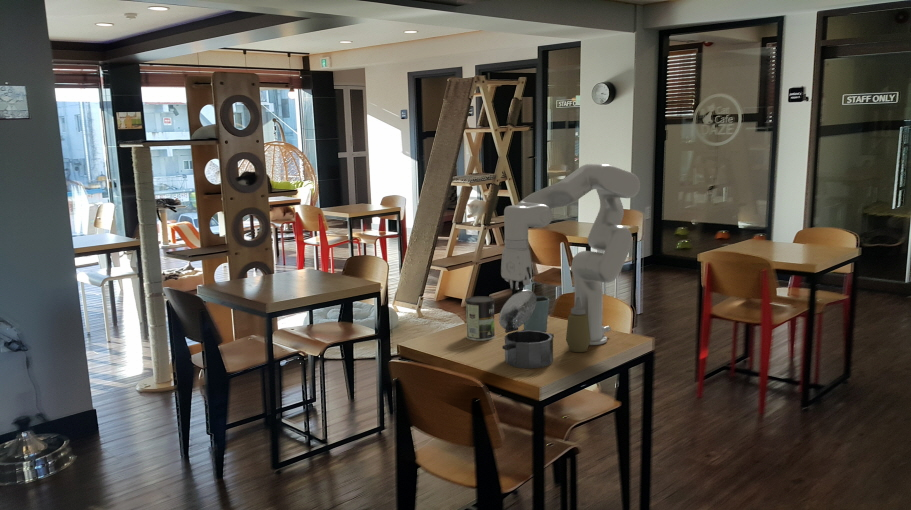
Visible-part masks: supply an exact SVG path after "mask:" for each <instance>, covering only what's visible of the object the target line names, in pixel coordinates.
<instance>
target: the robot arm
mask: <svg viewBox="0 0 911 510" xmlns="http://www.w3.org/2000/svg"><path fill="white" fill-rule="evenodd" d="M640 189H641V182H640V179H639V177H638V176H637V175H636V174H635V173H633V172H631V171H627V170H626V169H622V168H620V167H616V166H614V165H611V164H608V163H607V164H606V163H605V164H604V163H586V164H584V165H581V166H580V167H578V168H576V169H575V170H574V171H573V172H571V173H570V174H569V175H567V176H565V177H564V178H562V179H561V180H559V182H556V183H553V184H551V185H548V186H546V187H544V188H541V189H539V190H537V191H534V192H532V193H530V194H529V195H527V196H526V197H524V198H523V199H522V200H520V201H519V202H518V203H517V204H515V205H508V206H505V208H504V210H503V219H504V221H503V222H504V225H503V226H504V240H503V242H504V248H502V254H501V265H500V275H501V278H502V279H504V281H506V282H508V284H509V285H510V289H511V296H513V295H514V294H515V293H517V292H519V291H521V290H525V287H526V286H528V285H530V284H531V281H530V280H531V279H532V276H533V275H532V274H533V268H532V258H531V252H530V249H529V228H544V227H547V226H548V225H550V223H551V222H552V220H553V217H554V216H553V215H554V213H553V210H552V209H557V208H564V207H568V206H570V205H572V204H574V203H576V202H577V201H578V200H580V199H581V198H582V197H584V196H585V195H587V194H588V193H589V192H591V191H593V190H596V193H597V195H598V199H599V204H600V205H599V211H598V213H597V216H596V217H595V220H594V222H593V224H592V226H591V229H590V231H589V234H588V236H587V244H588V246H589V247H590V248H592V249H593V250H596V251H591V250H583V251H579V252H577V253H576V254H574V256H573V258H572V261H571V270H572V276H573V282H574V303H575V302H576V298H577V297H579V298H580V300H581V305H582V307H583V308H585V314H586V315H587V316H588V320H589V330H590V343H589V346H598V345H604V344H605V343H607V342H608V337H607V335H605V334H606V332H607V333H608V332H610V331H611V326H610V325H607V326H606V325H605V326H604V325H603V315H604V314H603V313H604V312H603V311H604V310H603V307H604V305H603V304H604V302H603V300H604V298H603V297H604V295H603V294H604V292H603V291H604V290H603V286H602V283H606V284H607V283H612V282H614V281H615V280H616V279H617V278H618V276H619V275H620V273H621V271H622V269H623V266H624V264H625V262H626V260H627V258H628V255H629V253H630V250H631V248H632V243H633V234H632V232H631V230H630V229H629V228H628V227H626V226H625V225H622V221H623V218H624V214H625V211H624V206H623V205H624V204H623V202H622V199H632V198H634V197H635V196H637V195H638V193H639V192H640ZM597 251H601V252H597Z"/></svg>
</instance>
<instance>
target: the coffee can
mask: <svg viewBox="0 0 911 510" xmlns="http://www.w3.org/2000/svg"><path fill="white" fill-rule="evenodd" d="M465 312H466V313H465V315H466V339H468V340H469V341H470V340H471V341H477V342H478V341H479V342H483V341H490V340H493V339H494V338H495V337H496V335H495V298H494V297H493V296H485V295H484V296H483V295H481V296H480V295H477V296H476V295H475V296H470V297H466V298H465Z"/></svg>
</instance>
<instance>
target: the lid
mask: <svg viewBox="0 0 911 510" xmlns="http://www.w3.org/2000/svg"><path fill="white" fill-rule="evenodd" d="M536 296H537V295H536V294H535V293H534V291H532V290H530V289H523V290H521V291H519V292H517V293H515V294H514V295H513V296H512V295H511V296H510V297H509V298H508V299H507V300H506V301H505V303H504V304H503V306H502V308H501V310H500V311H499V315H498V321H499V325H500V326H501V327H502V328H503V330H504V333H507V334H508V333H512V332H516V331H518V330H519V328H520V327H522V326H524V323H525V322H526V321H527V320H528V319H529V318H530V316H531V315H532V313H533V311H534V309H535V307H536V302H537V299H536Z"/></svg>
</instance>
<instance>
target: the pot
mask: <svg viewBox="0 0 911 510" xmlns="http://www.w3.org/2000/svg"><path fill="white" fill-rule="evenodd" d="M554 337H555V336H554V333H551V332H546V331H545V332H541V331H530V330H528V331H524V330H519V331H518V330H516V331H512V332H508V333H507V334H506V335H505V336H504V345H502V346H501V347H502V349H503V350H504V361H505V362H506V365H508V366H511V367H514V368H519V369H528V370H529V369H541V368H545V367H547V366H550V365H551V364H553V362H554Z"/></svg>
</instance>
